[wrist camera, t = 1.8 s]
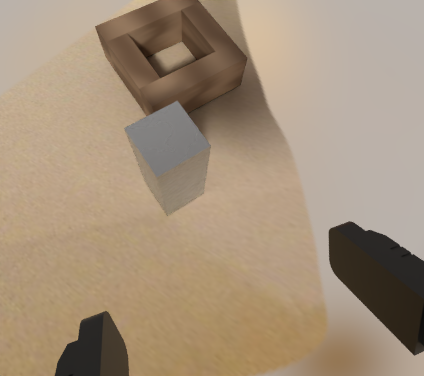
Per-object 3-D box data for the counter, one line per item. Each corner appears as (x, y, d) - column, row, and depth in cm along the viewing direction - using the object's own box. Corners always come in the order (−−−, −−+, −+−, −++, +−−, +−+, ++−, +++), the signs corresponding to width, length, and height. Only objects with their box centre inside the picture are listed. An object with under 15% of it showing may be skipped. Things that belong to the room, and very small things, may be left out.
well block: (156, 129, 34) (151, 106, 30) (105, 57, 37) (95, 26, 32) (240, 84, 37) (247, 57, 32) (187, 20, 39) (187, -12, 35)
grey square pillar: (167, 215, 31) (156, 177, 20) (145, 181, 32) (124, 128, 21) (203, 193, 32) (210, 145, 21) (180, 160, 33) (177, 100, 22)
